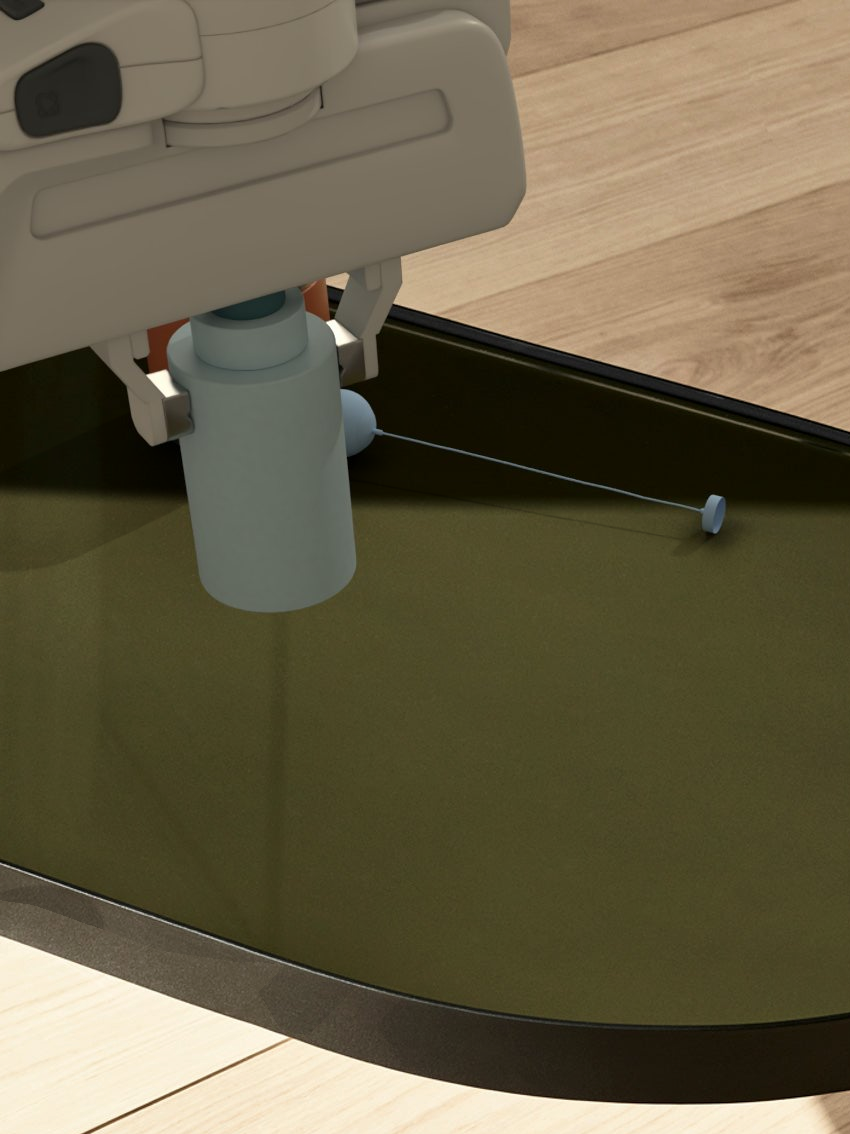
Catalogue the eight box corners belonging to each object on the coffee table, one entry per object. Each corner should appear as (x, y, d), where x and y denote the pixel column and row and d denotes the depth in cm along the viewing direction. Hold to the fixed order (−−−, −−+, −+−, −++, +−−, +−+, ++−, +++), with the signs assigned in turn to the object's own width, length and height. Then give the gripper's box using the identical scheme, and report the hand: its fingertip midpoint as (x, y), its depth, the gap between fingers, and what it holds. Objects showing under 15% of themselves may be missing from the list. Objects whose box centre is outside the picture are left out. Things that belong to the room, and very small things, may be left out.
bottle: (173, 556, 83) (123, 234, 75) (312, 510, 86) (278, 193, 78) (241, 631, 80) (196, 302, 72) (384, 581, 82) (356, 257, 74)
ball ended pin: (702, 555, 100) (714, 485, 99) (291, 452, 105) (299, 386, 104) (723, 544, 102) (736, 476, 101) (323, 445, 108) (330, 379, 107)
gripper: (455, -97, 76) (475, 289, 85) (-155, 35, 67) (-61, 449, 76) (556, -38, 72) (565, 360, 81) (-79, 110, 63) (10, 537, 72)
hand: (257, 405), depth 78 cm, fingers closed on bottle, 5 cm apart
